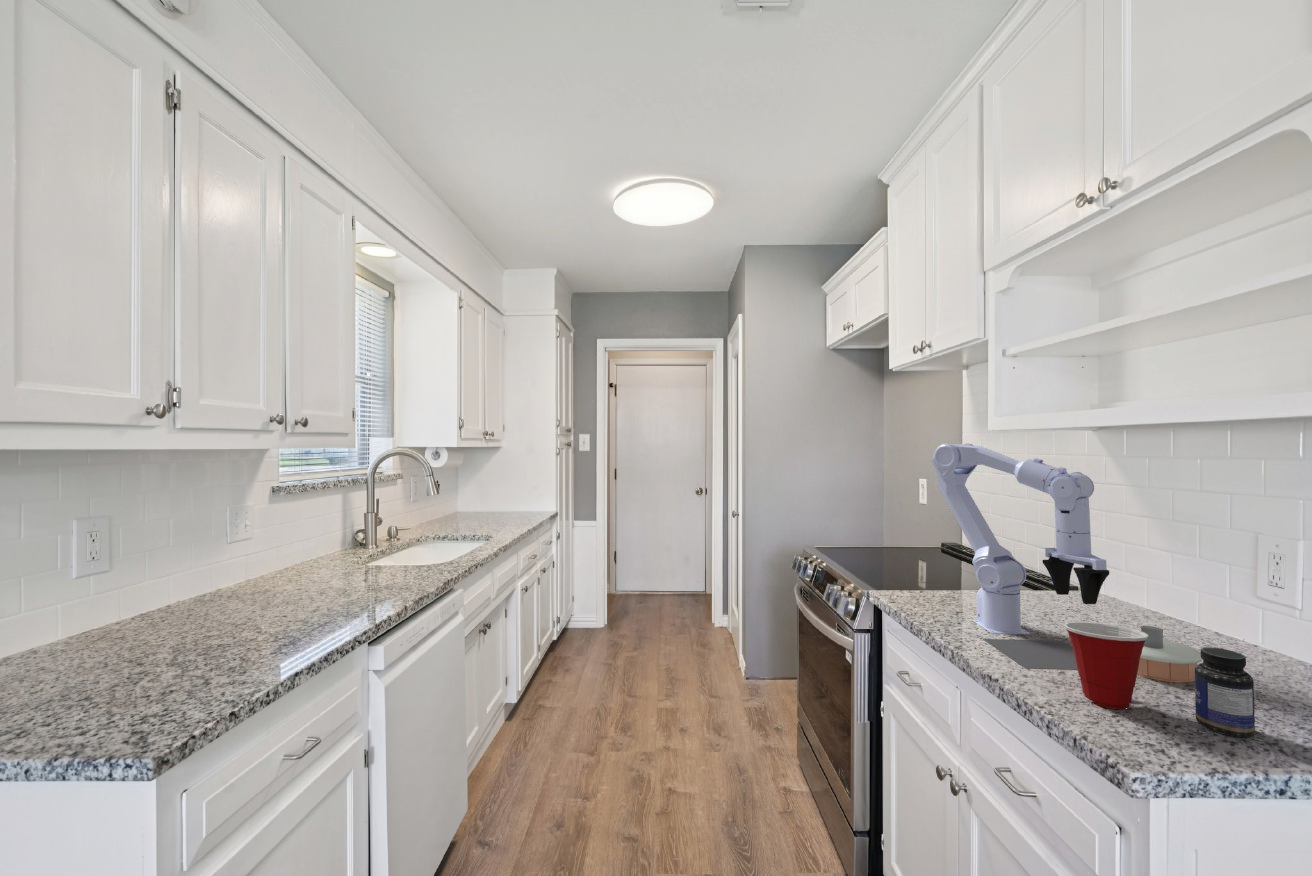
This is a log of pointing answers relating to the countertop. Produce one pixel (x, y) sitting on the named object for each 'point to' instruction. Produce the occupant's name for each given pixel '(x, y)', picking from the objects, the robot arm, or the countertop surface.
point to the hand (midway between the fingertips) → (1075, 599)
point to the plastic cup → (1106, 661)
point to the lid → (1167, 648)
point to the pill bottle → (1224, 693)
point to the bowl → (1166, 671)
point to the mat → (1037, 653)
